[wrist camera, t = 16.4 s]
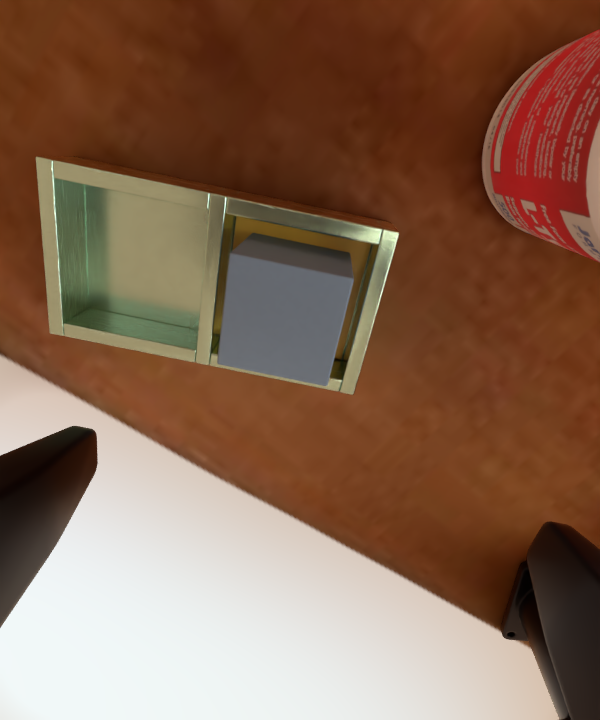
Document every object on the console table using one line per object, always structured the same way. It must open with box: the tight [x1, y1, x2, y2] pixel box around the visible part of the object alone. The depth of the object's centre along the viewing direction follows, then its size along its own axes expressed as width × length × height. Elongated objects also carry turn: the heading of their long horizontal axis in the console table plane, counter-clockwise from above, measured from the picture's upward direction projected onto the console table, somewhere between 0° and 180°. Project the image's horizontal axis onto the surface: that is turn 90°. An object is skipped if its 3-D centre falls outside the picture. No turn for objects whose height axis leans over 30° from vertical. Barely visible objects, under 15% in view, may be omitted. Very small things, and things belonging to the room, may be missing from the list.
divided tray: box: [36, 156, 399, 395], centre depth 17 cm, size 13×7×2 cm, turn 80°
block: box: [217, 233, 354, 386], centre depth 16 cm, size 4×4×4 cm
